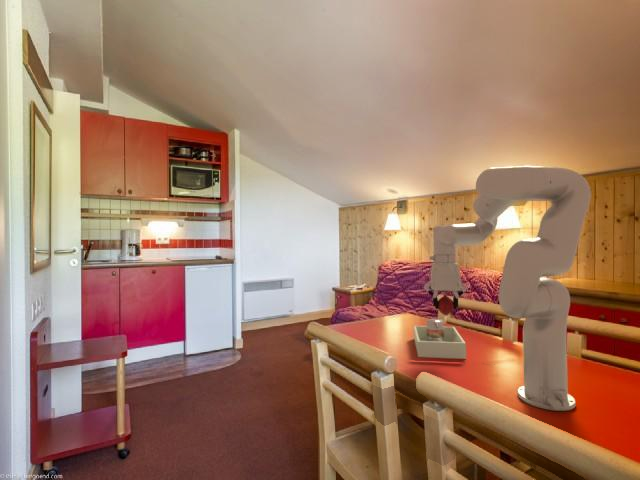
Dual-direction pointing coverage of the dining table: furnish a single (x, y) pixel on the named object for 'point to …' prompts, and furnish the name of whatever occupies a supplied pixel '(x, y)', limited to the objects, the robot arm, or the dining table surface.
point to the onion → (445, 305)
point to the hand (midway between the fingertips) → (445, 308)
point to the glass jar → (435, 330)
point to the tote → (440, 344)
